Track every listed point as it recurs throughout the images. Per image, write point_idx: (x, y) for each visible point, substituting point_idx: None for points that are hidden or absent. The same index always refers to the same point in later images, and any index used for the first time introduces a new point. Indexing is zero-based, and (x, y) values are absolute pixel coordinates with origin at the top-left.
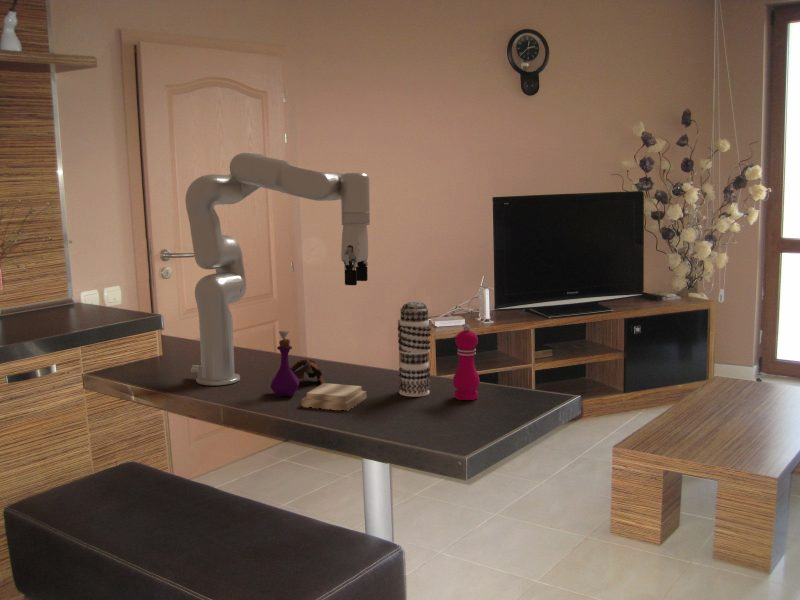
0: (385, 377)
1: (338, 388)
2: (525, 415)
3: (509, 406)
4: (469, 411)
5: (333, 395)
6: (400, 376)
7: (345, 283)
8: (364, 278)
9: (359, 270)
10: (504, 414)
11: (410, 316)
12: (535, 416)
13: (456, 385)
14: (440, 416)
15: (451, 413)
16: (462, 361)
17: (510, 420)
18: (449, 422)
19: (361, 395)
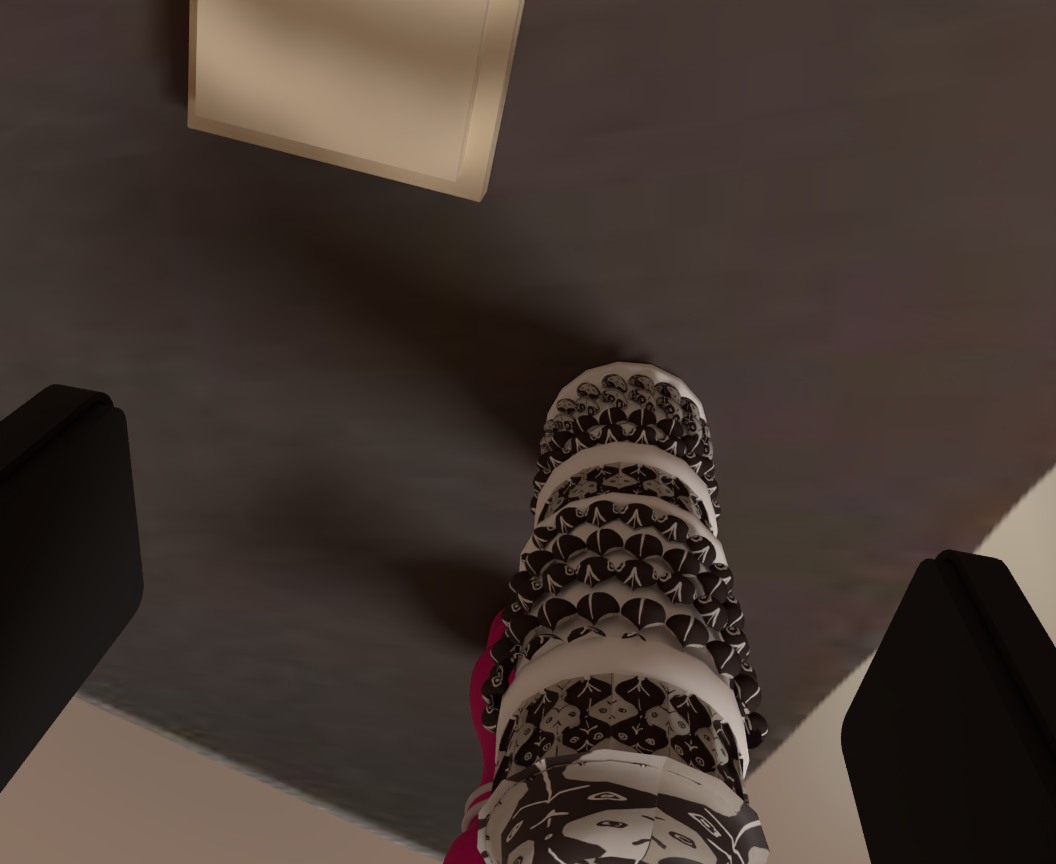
0: (1022, 256)
1: (373, 27)
2: (330, 777)
3: (435, 752)
4: (340, 633)
5: (198, 25)
6: (577, 418)
7: (47, 405)
8: (867, 743)
9: (981, 841)
10: (327, 727)
11: (494, 775)
12: (326, 799)
13: (488, 649)
14: (244, 536)
15: (297, 574)
16: (487, 765)
17: (260, 734)
18: (175, 563)
19: (400, 179)
